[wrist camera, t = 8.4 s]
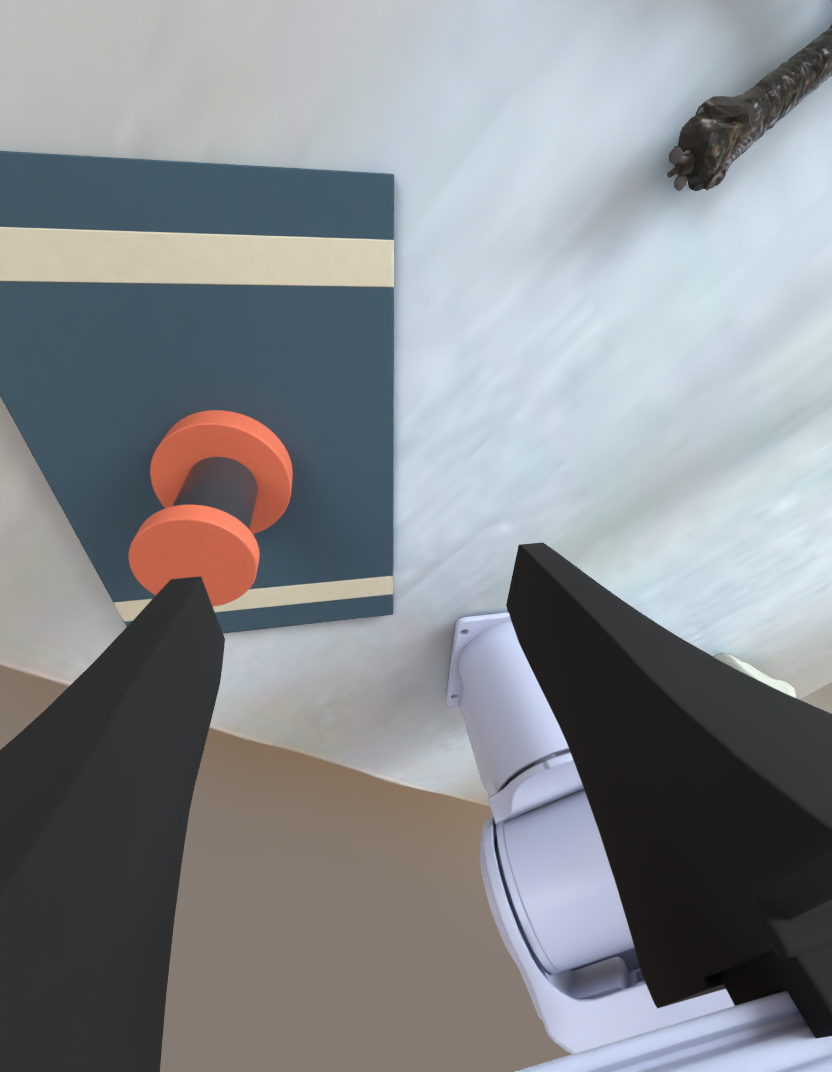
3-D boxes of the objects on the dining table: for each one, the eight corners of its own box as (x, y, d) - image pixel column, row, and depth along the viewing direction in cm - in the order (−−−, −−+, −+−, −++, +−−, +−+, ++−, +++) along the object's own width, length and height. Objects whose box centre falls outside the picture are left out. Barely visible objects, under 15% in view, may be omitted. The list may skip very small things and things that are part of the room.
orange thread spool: (299, 515, 20) (293, 616, 15) (181, 523, 19) (133, 632, 14) (283, 407, 17) (268, 488, 12) (141, 411, 16) (61, 500, 11)
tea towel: (392, 611, 26) (393, 615, 25) (137, 638, 23) (135, 643, 23) (392, 174, 14) (394, 173, 13) (-130, 144, 11) (-140, 142, 11)
